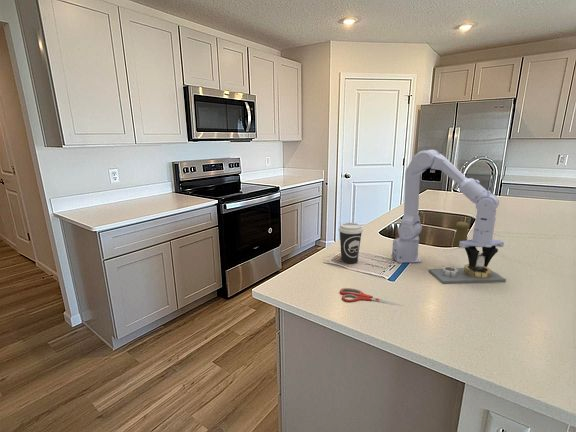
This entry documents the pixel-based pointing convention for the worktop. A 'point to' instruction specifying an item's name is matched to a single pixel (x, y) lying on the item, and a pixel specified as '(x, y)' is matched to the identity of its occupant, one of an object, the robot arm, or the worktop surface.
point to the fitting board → (464, 277)
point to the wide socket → (476, 274)
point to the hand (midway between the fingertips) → (478, 266)
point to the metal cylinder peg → (479, 263)
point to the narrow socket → (449, 271)
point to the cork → (460, 233)
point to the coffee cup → (350, 242)
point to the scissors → (361, 296)
